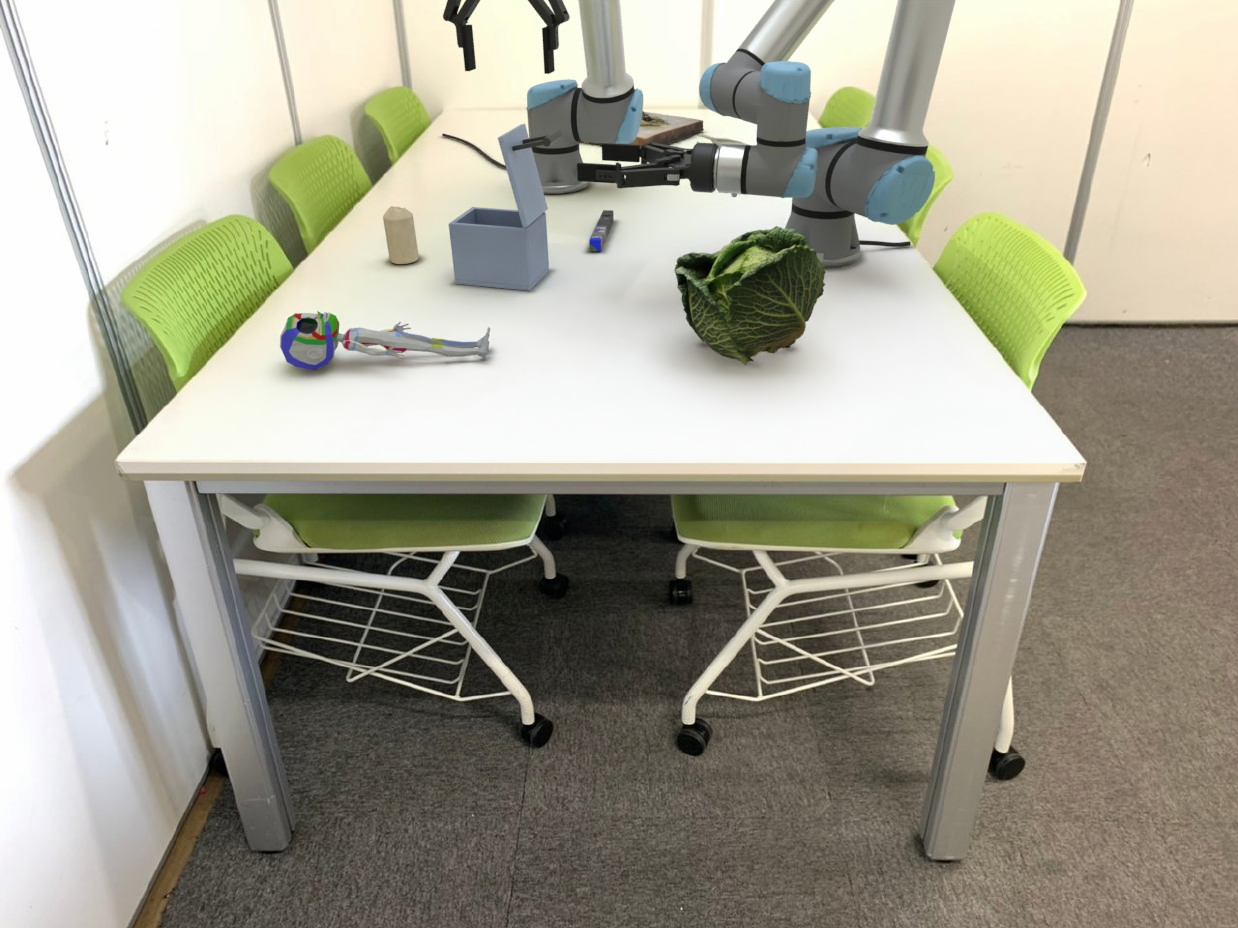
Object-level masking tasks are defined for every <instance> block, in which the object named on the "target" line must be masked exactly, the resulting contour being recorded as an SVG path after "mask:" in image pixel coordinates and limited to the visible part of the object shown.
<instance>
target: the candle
mask: <svg viewBox="0 0 1238 928" xmlns="http://www.w3.org/2000/svg"><path fill="white" fill-rule="evenodd" d="M382 220H383V226H384V233H385V239H386V246H387V252H388V258H389V261H390V263H392V264H394V265H395V264H397V265H406V264H412V263H414V262H417V261H418V260H419V258H420V257H419V250H418V241H417V234H416V227H415V226H416V225H415V219H414V214H413V212H411V211H410V210H409V209H407V208H406V207H401V206H393V205H392V206H389V207H388V209H386V211H385V212H384V214H383V215H382Z"/></svg>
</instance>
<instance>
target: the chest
mask: <svg viewBox="0 0 1238 928" xmlns="http://www.w3.org/2000/svg"><path fill="white" fill-rule="evenodd" d="M547 227H548V226H547V212H546V211H545V212H544V213H542V214H541V215H540V216H539V217H538V218H537V219H535V220H534V221H533V222H532V223H531V224H529V225H528V226H526V227H523V226H522V222H521V219H520V215H519V212H518V209H507V208H495V207H494V208H493V207H479V206H472V207H470V208H469V209H467V210H466V211H464V212H463V213H461V214H459V216H457V217H456V218H454V219H453V220H452V221H450V222H448V230H449V242H450V249H451V257H452V265H453V266H452V267H453V273H454V275H453V276H454V282H455V283H454V284H456V285H464V286H465V285H466V286H476V287H485V288H497V289H506V290H518V291H528V292H530V291H531V290H532V289H533V288H534V287H536V285H537V284H538V283H539V282H540V281H541V280H542V279H543V278H544V277H545V276H546V275H547V274H548V273H549V272H550V263H549V262H550V261H549V248H548V247H549V244H548V243H549V242H548V228H547Z"/></svg>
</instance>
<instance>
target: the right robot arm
mask: <svg viewBox="0 0 1238 928" xmlns="http://www.w3.org/2000/svg"><path fill="white" fill-rule="evenodd" d="M835 1H836V0H774V1H772V3H771V5H770V6H769V7H768V9H767V10H766V11H765V13H764V14H763V15H762V16H761V17H760V19H759V21H757V23H756V24H755V25H754V27H753V28H752V29H751V30H750V31H749V33H748V34H747V36H746V37H745V38H744V40H743V41H742V43H741V44H740V45H739V46H738V48H737V49H736V50H735V52H734V53H733V54H732V55H731V56H730V58H729V59H728V60H727V61H726V62H717V63H714V64H712V65H710V66H708V67H707V68H706V70H705V71H704V72H703V73H702V75H701V78H700V80H699V85H698V94H699V98H700V101H701V103H702V104H703V106H704V107H705V108H706V109H707V110H710V111H711V112H714V113H716V114H717V115H720V116H722V117H730V118H734V119H738V120H741V121H743V122H746V123H751V124H754V125H756V137H755V138H756V144H753V145H752V144H748V145H744V144H722V145H721V146H720V147H719V146H718V145H717V144H716V143H713V142H700V143H697V142H696V143H695V144H694V146H692V147H693V148H688V147H687V148H686V147H685V148H684V147H679V146H675V145H670V144H667V145H664V144H659V143H654V142H648V143H647V144H643V145H641V147H640V145H630V144H610V143H602V145H601V161H605V162H606V161H608V162H615V164H611V163H595V162H594V163H593V162H583V163H577V180H578V181H584V182H588V183H603V184H615V185H616V188H617V189H620V190H621V189H628V188H629V189H631V188H644V187H660V186H674V187H678V186H681V185H680V183H681V182H680V181H681V180H688V181H689V186H690V189H691V190H692V192H693V193H694V192H695V193H708V194H713V193H714V192H716V191H717V192H718V193H719V194H730V196H731V197H732V198H737V197H738V195H749V196H760V197H770V198H771V197H773V198H780V199H786V198H790V199H791V198H792V199H791V208H790V209H791V210H790V215H789V218H788V219H787V222H786V225H785V227H784V229H795V230H796V233H798V234H800V235H803V236H805V237H806V239H807V242H808V247H809V249H814V250H815V252H816V253H817V257H818V258H819V260H820V261H821V262H822V264H823V268H824V269H834V268H835V269H836V268H843V267H846V266H849V265H852V264H854V263H856V262H857V261H858V260H859V259H860V254H861V246H880V247H886V248H887V247H889V248H901V247H910V246H911V244H912V242H911V241H901V242H900V241H899V242H890V241H882V240H881V241H880V240H863V239H862V240H861V239H860V238H859V233H858V228H857V222H856V217H855V214H856V215H858V216H860V217H863V218H867V219H868V220H870V221H872V222H874V223H882V224H885V225H889V226H890V225H891V226H892V225H893V226H894V225H900V224H903V223H905V222H907V221H910V220H911V219H913V217H914V216H915V215H916V213H919V212H920V211H921V210H922V209H923V207H924V206H925V205H926V203H927V202H928V200H929V198H930V196H931V194H932V192H933V189H934V185H935V181H936V172H935V170H934V165H933V163H932V162H931V161H930V160H929V159H928V157H927V153H928V148H929V144H930V143H929V140H928V139H927V137H926V136H925V134H924V126H925V122H926V118H927V114H928V110H929V107H930V103H931V99H932V95H933V91H934V86H935V83H936V80H937V75H938V71H939V68H940V63H941V59H942V55H943V52H944V47H945V45H946V39H947V36H948V33H949V27H950V25H951V21H952V16H953V12H954V10H955V9H954V8H955V4H956V0H897V2H896V7H895V11H894V16H893V20H892V24H891V28H890V32H889V37H888V41H887V46H886V51H885V55H884V58H883V59H884V60H883V64H882V69H881V71H880V72H881V73H880V77H879V81H878V86H877V90H876V95H875V99H874V104H873V107H872V112H871V116H870V121H869V123H868V124H867V125H866V126H865V127H863V128H862V127H858V126H834V127H833V126H832V127H823V128H822V127H821V128H814V129H809V130H807V129H808V128H807V127H808V120H809V111H810V110H809V109H810V102H811V101H810V100H811V97H812V96H811V95H812V92H811V84H812V83H811V79H812V70H811V68H810V66H809V64H806V63H805V62H801V61H791V60H790V59H791V57H792V56H793V55H794V53H796V51H797V49H798V48H799V47H800V46H801V45H802V43H803V42H804V40H805V39H806V38H807V37H808V36H809V34H810V33H811V31H812V30H813V29H814V28H815V26H816V25H817V24H818V23H819V21H820V20H821V19H822V17H823V16H824V15H825V14H826V12H827V11H828V10H829V9H830V7H831V6H832V5H833V3H834V2H835ZM789 60H790V61H789ZM621 162H622V163H640V164H632V165H626V166H625V165H624V166H622V163H621Z"/></svg>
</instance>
